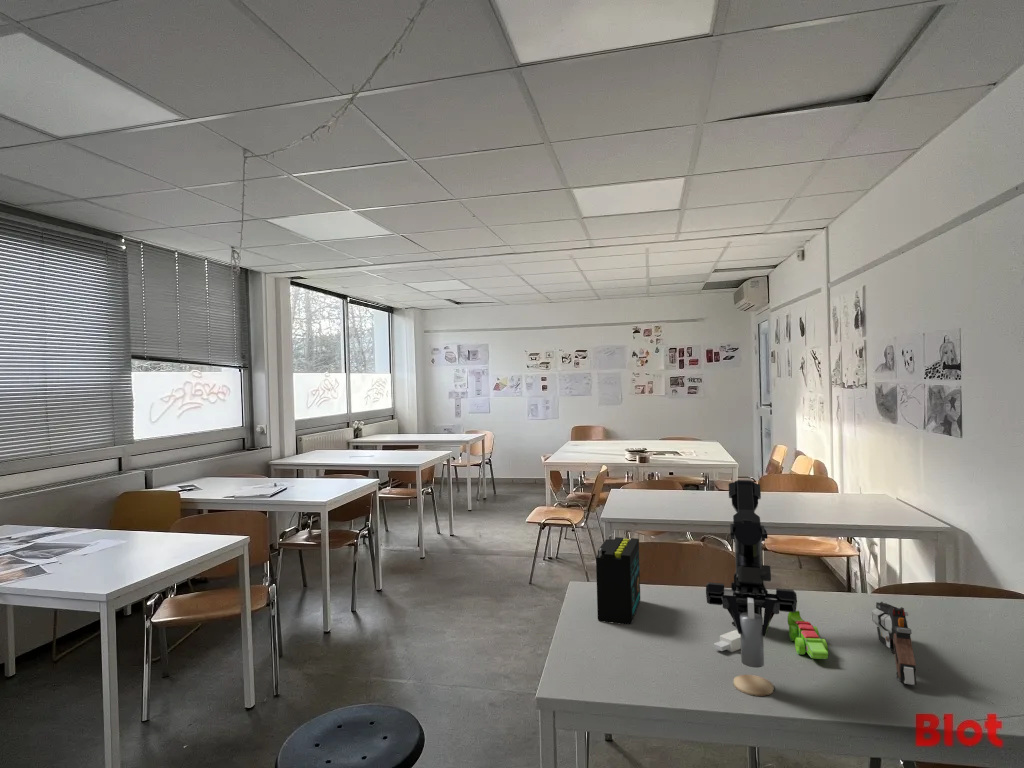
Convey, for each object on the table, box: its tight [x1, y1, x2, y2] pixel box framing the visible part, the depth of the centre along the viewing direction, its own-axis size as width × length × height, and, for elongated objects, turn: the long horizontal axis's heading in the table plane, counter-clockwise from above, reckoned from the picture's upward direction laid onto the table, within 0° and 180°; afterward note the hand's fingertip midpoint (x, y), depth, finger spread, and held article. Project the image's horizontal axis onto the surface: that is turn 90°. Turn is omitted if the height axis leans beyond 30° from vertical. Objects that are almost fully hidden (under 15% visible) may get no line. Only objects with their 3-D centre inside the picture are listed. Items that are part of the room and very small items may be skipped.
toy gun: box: [870, 601, 917, 686], centre depth 136 cm, size 5×28×15 cm, turn 157°
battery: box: [595, 534, 641, 625], centre depth 171 cm, size 19×10×20 cm, turn 160°
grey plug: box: [740, 598, 765, 669], centre depth 126 cm, size 5×5×14 cm
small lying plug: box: [713, 628, 741, 653], centre depth 145 cm, size 10×4×3 cm, turn 122°
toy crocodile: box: [787, 610, 829, 660], centre depth 144 cm, size 20×7×6 cm, turn 166°
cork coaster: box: [733, 674, 775, 697], centre depth 125 cm, size 8×8×1 cm
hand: (751, 634), depth 124 cm, fingers closed on grey plug, 5 cm apart
